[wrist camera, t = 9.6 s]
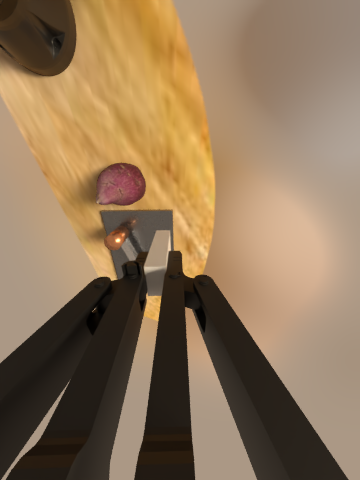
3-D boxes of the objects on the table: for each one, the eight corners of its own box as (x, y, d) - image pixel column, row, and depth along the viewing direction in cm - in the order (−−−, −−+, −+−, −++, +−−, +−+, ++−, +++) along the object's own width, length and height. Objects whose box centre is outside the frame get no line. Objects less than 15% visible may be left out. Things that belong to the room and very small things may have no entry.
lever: (157, 279, 49) (154, 294, 43) (143, 283, 49) (139, 299, 43) (127, 223, 40) (117, 232, 34) (110, 229, 40) (98, 239, 34)
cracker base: (102, 210, 41) (88, 218, 34) (172, 209, 41) (171, 217, 34) (119, 278, 52) (111, 293, 45) (174, 277, 52) (174, 292, 45)
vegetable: (134, 205, 44) (115, 237, 32) (102, 181, 39) (66, 208, 28) (155, 180, 38) (140, 208, 27) (120, 149, 34) (85, 167, 22)
